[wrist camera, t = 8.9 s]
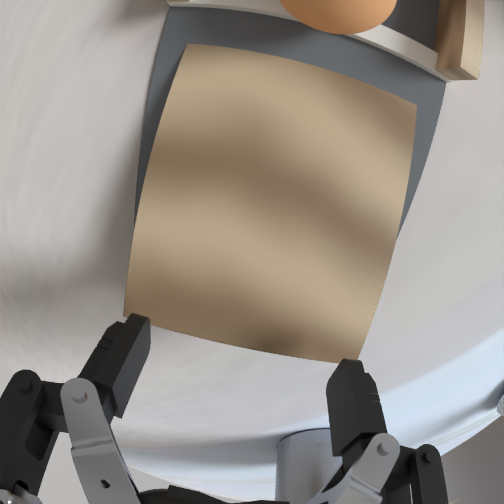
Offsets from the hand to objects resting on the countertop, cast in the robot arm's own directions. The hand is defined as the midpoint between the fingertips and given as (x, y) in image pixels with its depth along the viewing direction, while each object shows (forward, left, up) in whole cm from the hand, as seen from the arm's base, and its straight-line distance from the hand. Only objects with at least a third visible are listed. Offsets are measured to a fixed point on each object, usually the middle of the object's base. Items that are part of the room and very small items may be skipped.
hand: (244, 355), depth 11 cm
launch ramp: (+5, 0, -6) cm, 8 cm away
